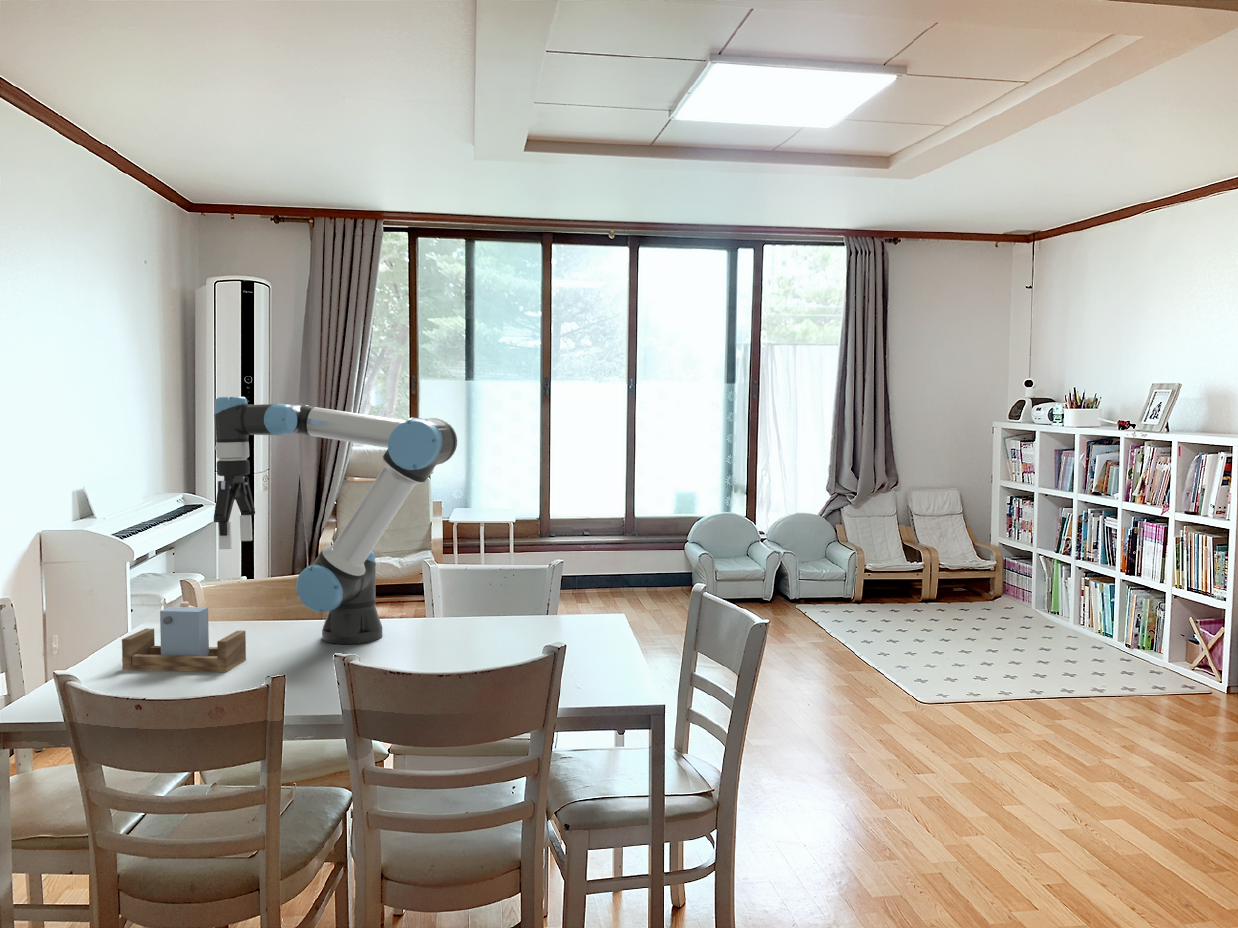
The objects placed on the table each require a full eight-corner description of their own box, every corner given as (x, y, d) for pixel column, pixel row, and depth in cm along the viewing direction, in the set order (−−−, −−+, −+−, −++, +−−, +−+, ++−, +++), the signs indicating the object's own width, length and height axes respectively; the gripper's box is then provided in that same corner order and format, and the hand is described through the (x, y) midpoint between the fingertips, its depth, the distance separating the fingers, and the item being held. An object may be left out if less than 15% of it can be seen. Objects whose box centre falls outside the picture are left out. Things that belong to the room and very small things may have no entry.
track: (245, 659, 221) (245, 630, 220) (226, 672, 211) (226, 641, 210) (146, 657, 222) (145, 628, 221) (122, 669, 212) (121, 639, 211)
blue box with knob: (208, 658, 218) (208, 607, 218) (197, 664, 213) (196, 612, 212) (171, 657, 219) (170, 606, 218) (158, 663, 213) (157, 611, 212)
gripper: (236, 456, 243) (239, 537, 244) (196, 462, 218) (199, 552, 219) (265, 456, 243) (268, 537, 244) (228, 462, 218) (232, 552, 219)
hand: (236, 544), depth 232 cm, fingers open, 13 cm apart
